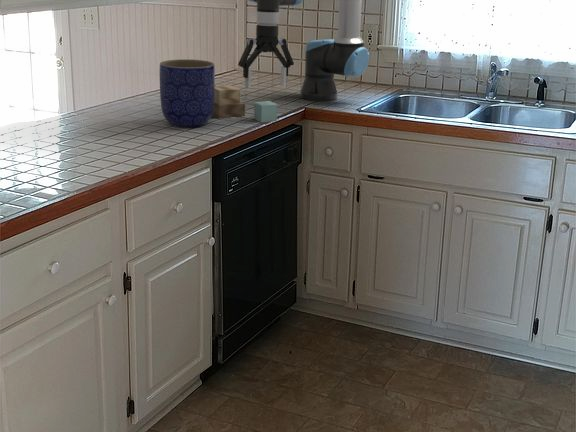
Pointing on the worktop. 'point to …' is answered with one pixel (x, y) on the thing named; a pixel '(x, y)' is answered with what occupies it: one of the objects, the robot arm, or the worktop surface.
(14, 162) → the worktop surface
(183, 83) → the planter
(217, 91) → the tower top
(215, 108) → the tower base
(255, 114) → the teal cube
